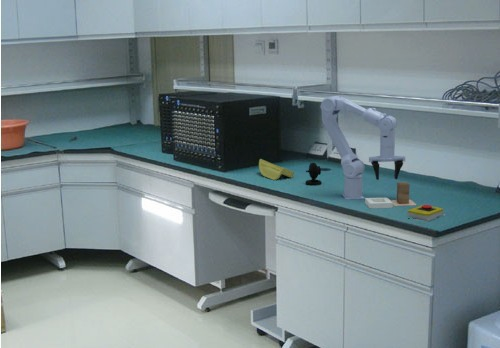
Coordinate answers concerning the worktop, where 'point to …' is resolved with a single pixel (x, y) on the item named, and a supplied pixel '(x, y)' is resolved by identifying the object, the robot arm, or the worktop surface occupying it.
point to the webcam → (313, 174)
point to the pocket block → (378, 203)
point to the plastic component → (273, 170)
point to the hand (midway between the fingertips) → (386, 179)
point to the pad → (402, 204)
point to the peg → (403, 192)
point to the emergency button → (425, 212)
